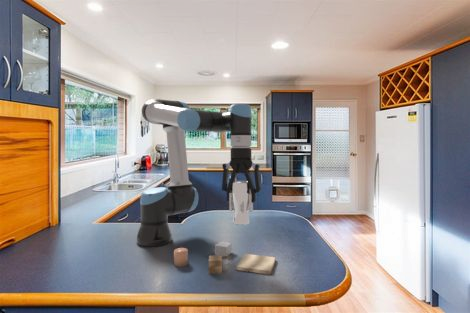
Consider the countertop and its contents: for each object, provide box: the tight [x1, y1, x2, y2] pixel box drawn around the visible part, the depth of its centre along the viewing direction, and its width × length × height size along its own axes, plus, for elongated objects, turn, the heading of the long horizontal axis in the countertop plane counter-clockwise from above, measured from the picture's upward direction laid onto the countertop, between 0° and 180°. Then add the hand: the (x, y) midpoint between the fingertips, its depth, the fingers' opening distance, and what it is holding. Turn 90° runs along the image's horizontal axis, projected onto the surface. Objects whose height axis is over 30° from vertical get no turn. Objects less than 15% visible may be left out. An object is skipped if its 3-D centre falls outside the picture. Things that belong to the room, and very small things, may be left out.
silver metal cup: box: [231, 180, 251, 226], centre depth 105 cm, size 7×7×15 cm
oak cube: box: [208, 255, 223, 275], centre depth 101 cm, size 4×4×4 cm
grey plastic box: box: [214, 240, 233, 257], centre depth 116 cm, size 5×5×4 cm
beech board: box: [236, 253, 276, 275], centre depth 105 cm, size 12×12×1 cm
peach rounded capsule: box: [173, 247, 189, 267], centre depth 106 cm, size 5×5×5 cm
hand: (241, 210), depth 105 cm, fingers closed on silver metal cup, 7 cm apart
